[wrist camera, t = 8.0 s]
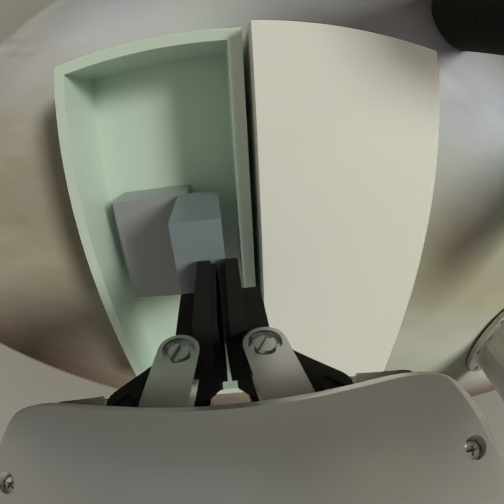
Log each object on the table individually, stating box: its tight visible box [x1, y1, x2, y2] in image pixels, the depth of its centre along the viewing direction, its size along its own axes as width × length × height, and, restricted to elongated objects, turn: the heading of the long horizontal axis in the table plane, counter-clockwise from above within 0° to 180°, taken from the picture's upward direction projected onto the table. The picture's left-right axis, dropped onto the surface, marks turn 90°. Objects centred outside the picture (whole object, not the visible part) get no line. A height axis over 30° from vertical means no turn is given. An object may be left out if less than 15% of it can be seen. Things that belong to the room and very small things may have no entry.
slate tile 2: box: [113, 185, 191, 297], centre depth 16 cm, size 4×6×2 cm, turn 2°
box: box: [54, 27, 256, 394], centre depth 16 cm, size 9×22×4 cm, turn 3°
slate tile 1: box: [168, 190, 225, 296], centre depth 14 cm, size 4×6×2 cm
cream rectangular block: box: [242, 20, 439, 376], centre depth 16 cm, size 9×22×5 cm, turn 3°
